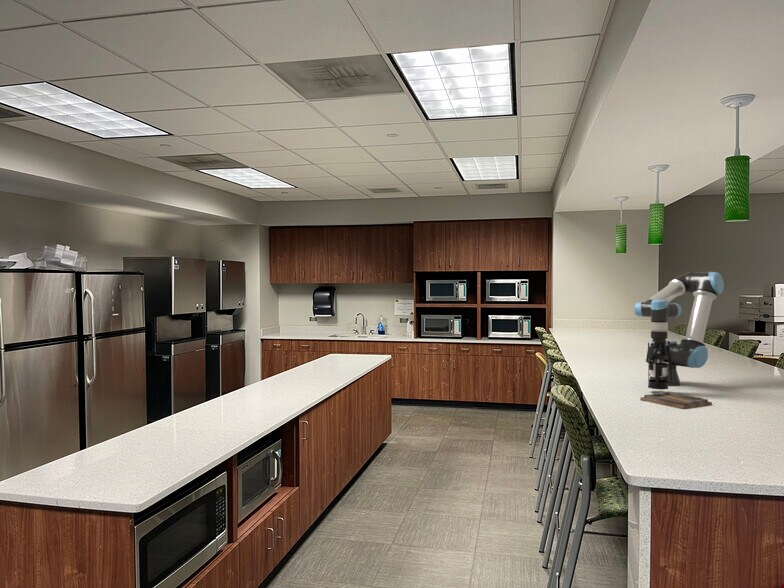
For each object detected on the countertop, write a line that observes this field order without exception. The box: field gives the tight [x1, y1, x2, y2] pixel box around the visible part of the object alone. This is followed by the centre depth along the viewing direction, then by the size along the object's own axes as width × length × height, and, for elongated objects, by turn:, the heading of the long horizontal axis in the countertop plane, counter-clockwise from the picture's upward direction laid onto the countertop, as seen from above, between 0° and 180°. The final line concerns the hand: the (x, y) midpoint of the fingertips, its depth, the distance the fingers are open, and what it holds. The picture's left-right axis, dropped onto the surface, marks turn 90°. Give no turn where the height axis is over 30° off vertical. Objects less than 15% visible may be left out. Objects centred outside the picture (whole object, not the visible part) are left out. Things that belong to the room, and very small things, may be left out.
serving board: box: [640, 391, 713, 410], centre depth 265 cm, size 20×22×2 cm
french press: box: [647, 342, 672, 390], centre depth 288 cm, size 12×9×23 cm
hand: (658, 375), depth 288 cm, fingers closed on french press, 9 cm apart
